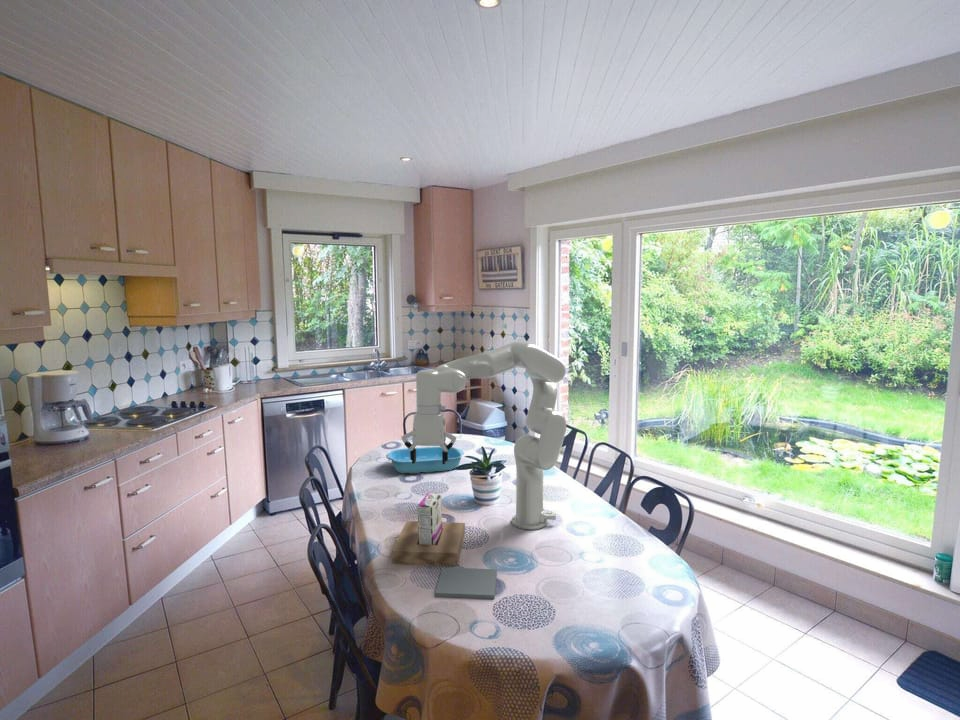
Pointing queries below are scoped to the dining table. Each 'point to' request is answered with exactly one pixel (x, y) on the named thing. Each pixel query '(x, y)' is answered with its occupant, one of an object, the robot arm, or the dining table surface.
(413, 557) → the pocket holder
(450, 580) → the charcoal mat
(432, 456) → the casserole dish
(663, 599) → the dining table surface
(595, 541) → the dining table surface
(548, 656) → the dining table surface
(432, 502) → the candy bar box
